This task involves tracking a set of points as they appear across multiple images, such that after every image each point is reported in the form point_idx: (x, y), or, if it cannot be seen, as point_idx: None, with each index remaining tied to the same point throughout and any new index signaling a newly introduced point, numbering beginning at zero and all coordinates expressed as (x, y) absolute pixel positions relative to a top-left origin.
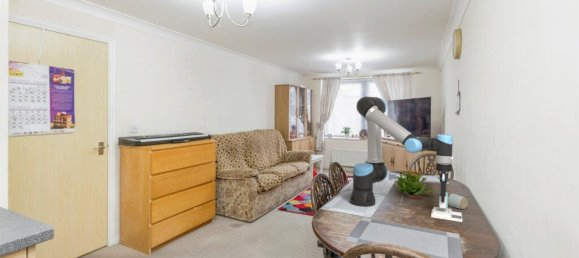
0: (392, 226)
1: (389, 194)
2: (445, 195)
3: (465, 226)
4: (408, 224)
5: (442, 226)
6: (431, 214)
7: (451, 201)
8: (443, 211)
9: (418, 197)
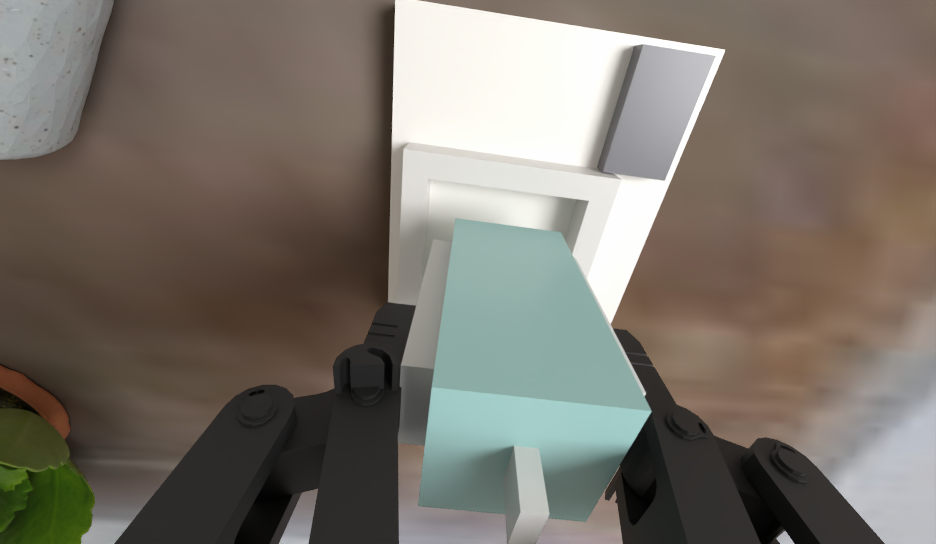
0: None
1: (131, 514)
2: (800, 457)
3: (869, 40)
4: None
5: (843, 274)
6: None
7: (44, 103)
8: (444, 230)
9: (21, 376)
